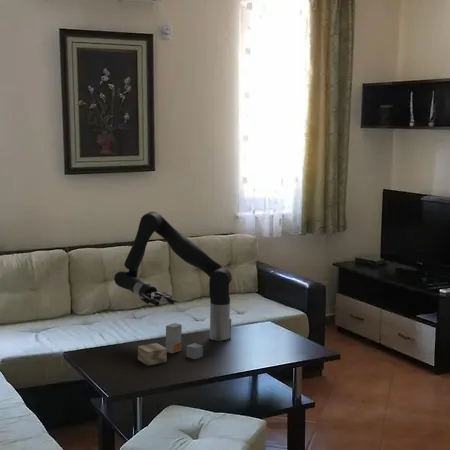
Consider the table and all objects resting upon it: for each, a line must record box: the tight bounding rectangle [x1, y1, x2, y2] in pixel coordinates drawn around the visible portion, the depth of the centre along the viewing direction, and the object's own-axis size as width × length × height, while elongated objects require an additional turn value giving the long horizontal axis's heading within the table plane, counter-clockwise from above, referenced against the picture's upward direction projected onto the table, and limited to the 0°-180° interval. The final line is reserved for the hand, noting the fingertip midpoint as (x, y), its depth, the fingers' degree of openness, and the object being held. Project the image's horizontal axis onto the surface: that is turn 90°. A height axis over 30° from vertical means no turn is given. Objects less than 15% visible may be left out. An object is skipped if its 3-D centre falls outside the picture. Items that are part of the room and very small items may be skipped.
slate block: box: [185, 342, 204, 360], centre depth 298 cm, size 5×5×5 cm
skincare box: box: [165, 322, 183, 354], centre depth 304 cm, size 6×4×12 cm
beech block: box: [137, 342, 168, 366], centre depth 292 cm, size 9×9×6 cm
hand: (166, 303), depth 309 cm, fingers open, 8 cm apart
